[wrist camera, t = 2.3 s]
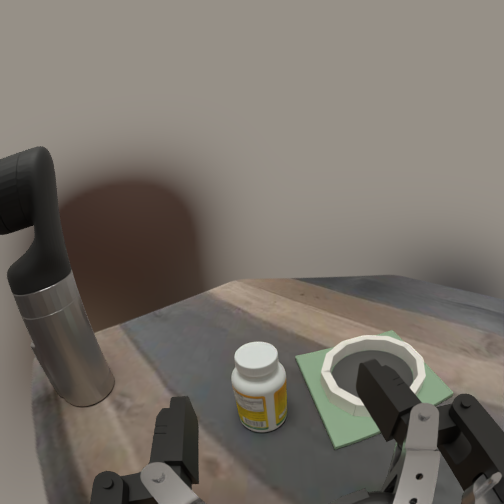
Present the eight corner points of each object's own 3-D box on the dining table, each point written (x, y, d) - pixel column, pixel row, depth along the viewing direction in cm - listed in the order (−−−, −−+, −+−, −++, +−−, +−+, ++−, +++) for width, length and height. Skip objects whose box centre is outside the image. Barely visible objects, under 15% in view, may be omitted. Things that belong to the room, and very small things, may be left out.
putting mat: (334, 449, 20) (337, 437, 20) (295, 359, 36) (295, 345, 35) (451, 396, 22) (458, 381, 21) (391, 333, 37) (394, 319, 36)
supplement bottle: (249, 439, 23) (235, 380, 20) (234, 407, 28) (219, 346, 25) (295, 423, 25) (295, 361, 22) (276, 393, 30) (270, 331, 27)
